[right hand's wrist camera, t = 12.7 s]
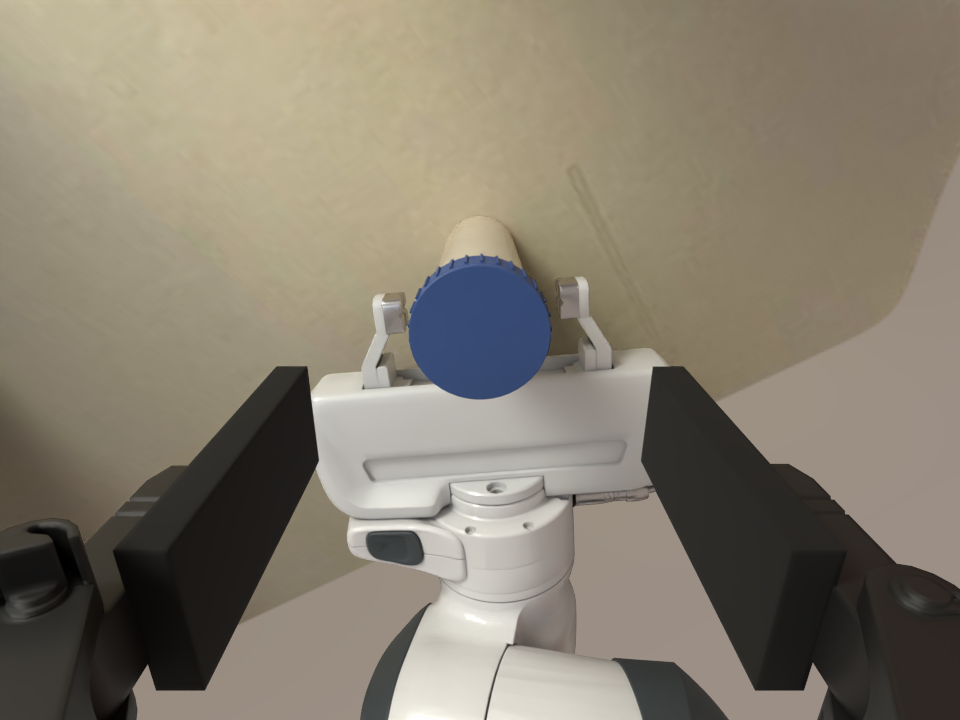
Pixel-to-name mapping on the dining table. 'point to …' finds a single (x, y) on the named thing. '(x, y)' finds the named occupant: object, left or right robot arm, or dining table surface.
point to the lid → (479, 327)
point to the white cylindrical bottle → (480, 241)
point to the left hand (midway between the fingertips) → (479, 287)
